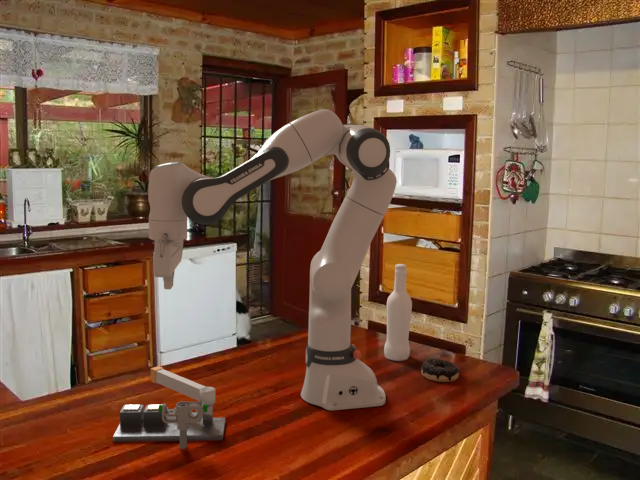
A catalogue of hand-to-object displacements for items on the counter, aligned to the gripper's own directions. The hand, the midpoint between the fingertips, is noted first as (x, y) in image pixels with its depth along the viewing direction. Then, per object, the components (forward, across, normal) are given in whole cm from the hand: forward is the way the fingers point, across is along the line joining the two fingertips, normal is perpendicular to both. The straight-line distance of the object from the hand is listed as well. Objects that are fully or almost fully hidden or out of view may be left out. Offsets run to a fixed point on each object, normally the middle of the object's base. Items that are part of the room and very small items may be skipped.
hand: (168, 288), depth 149 cm
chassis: (+31, -12, -2) cm, 33 cm away
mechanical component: (+31, -19, -6) cm, 37 cm away
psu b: (+30, -9, +7) cm, 32 cm away
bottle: (+31, +38, -65) cm, 82 cm away
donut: (+32, +22, -75) cm, 84 cm away
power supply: (+30, -9, +2) cm, 31 cm away
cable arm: (+25, -2, -3) cm, 26 cm away
